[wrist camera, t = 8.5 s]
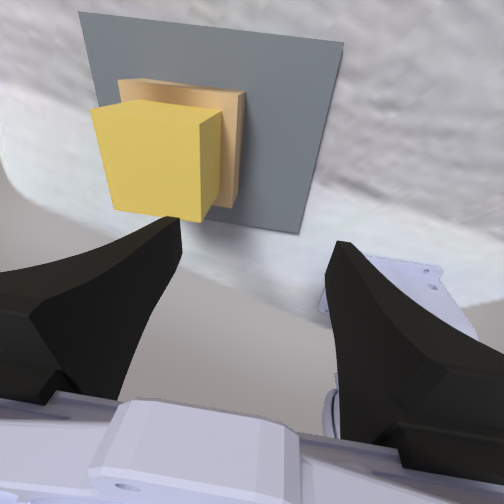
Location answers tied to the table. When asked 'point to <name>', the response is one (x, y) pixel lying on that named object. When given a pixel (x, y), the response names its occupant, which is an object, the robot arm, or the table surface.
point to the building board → (234, 78)
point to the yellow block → (160, 157)
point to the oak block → (208, 99)
